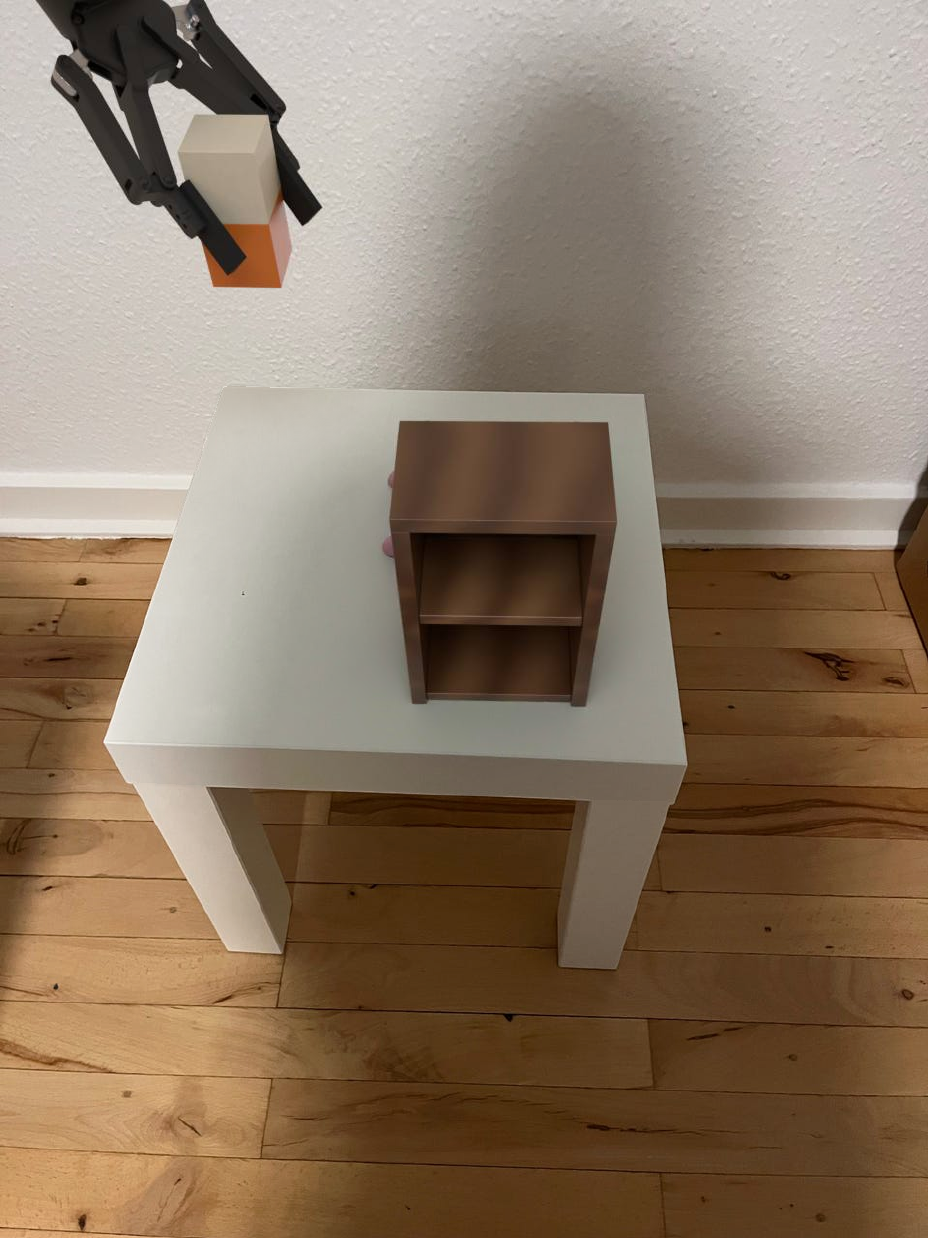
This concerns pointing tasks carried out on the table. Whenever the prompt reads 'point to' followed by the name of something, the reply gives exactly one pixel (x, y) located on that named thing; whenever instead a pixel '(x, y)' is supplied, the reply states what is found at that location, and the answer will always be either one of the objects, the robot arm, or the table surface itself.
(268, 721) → the table surface
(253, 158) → the cream and orange block
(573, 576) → the shelf
